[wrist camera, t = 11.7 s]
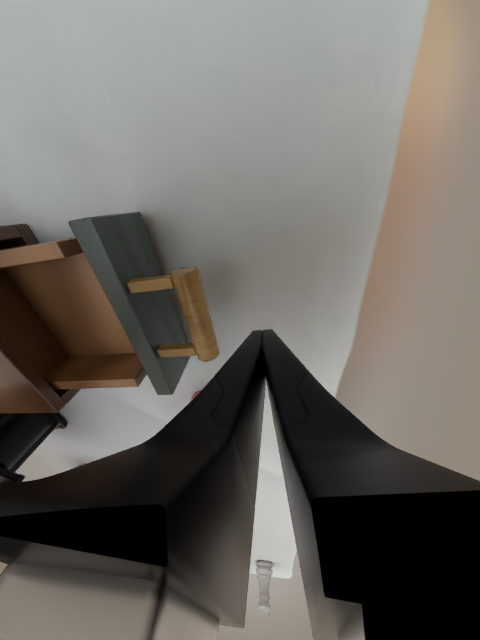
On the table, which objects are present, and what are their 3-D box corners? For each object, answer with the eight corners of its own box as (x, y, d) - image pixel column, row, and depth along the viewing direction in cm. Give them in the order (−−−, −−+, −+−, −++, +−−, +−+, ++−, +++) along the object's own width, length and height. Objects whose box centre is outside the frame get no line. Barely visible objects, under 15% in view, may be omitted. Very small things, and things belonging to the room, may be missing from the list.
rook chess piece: (256, 564, 56) (255, 614, 50) (254, 559, 54) (253, 611, 47) (273, 565, 56) (274, 617, 49) (271, 561, 54) (273, 614, 47)
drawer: (201, 200, 12) (173, 200, 8) (234, 352, 17) (226, 394, 14) (-7, 239, 14) (-103, 253, 11) (80, 361, 20) (38, 399, 16)
